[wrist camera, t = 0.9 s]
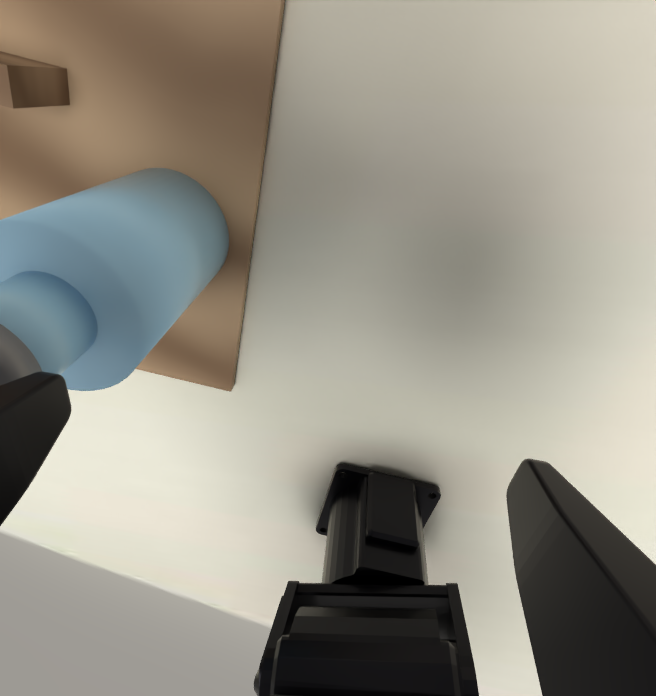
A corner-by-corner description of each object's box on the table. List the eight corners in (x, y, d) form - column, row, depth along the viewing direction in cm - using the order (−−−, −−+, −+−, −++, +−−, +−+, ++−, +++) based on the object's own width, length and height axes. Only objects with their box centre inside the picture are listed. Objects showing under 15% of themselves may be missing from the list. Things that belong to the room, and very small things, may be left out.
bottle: (223, 298, 20) (82, 493, 10) (114, 271, 20) (-132, 444, 10) (235, 185, 17) (57, 309, 8) (108, 153, 17) (-236, 238, 8)
